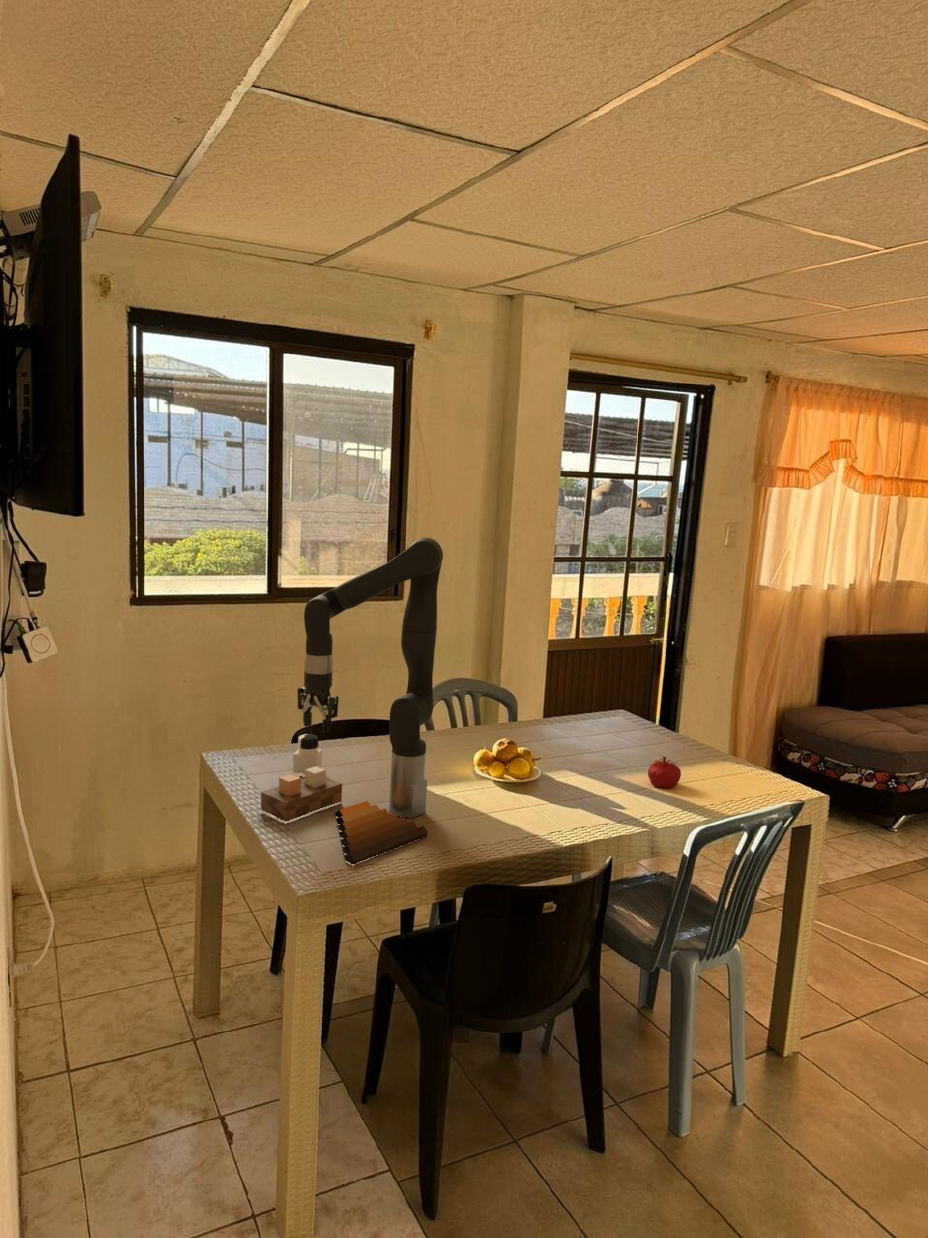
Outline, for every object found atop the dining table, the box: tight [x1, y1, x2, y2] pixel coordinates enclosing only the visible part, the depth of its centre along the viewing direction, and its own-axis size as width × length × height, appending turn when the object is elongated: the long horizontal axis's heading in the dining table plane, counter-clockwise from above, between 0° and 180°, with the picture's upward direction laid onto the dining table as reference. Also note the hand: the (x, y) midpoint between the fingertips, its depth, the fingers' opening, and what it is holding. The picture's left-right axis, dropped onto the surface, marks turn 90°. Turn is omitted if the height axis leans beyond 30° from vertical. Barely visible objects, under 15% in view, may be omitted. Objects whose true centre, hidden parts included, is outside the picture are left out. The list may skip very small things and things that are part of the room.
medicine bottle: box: [292, 733, 323, 774], centre depth 261 cm, size 7×7×12 cm
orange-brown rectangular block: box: [278, 773, 302, 797], centre depth 231 cm, size 4×4×6 cm
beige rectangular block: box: [305, 766, 327, 788], centre depth 238 cm, size 4×4×6 cm
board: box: [260, 777, 343, 821], centre depth 235 cm, size 10×20×6 cm, turn 142°
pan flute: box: [334, 800, 429, 864], centre depth 221 cm, size 25×3×25 cm
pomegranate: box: [647, 756, 682, 789], centre depth 270 cm, size 10×10×9 cm
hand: (316, 728), depth 235 cm, fingers open, 7 cm apart
